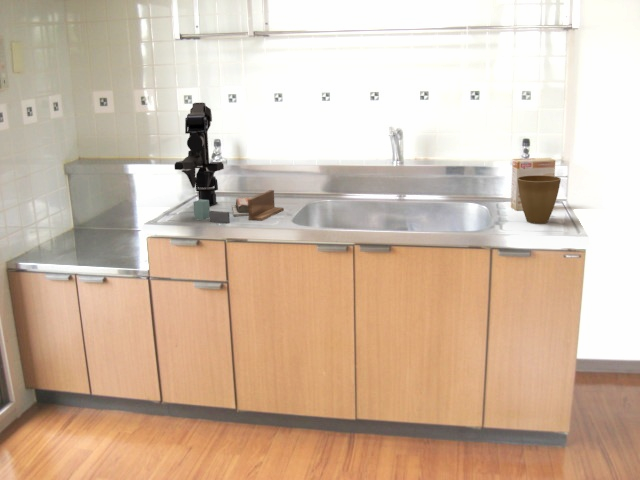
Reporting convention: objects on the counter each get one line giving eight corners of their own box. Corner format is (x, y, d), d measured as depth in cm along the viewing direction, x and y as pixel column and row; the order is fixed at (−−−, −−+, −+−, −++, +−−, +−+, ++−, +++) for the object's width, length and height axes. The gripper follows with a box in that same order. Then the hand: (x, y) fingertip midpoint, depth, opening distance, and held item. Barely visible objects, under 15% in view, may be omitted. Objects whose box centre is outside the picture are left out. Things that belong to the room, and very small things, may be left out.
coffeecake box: (547, 205, 284) (549, 157, 279) (553, 209, 277) (556, 159, 272) (510, 207, 284) (512, 158, 279) (515, 210, 277) (517, 160, 272)
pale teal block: (194, 219, 276) (193, 201, 274) (201, 216, 280) (200, 199, 278) (203, 220, 274) (202, 202, 272) (210, 217, 279) (209, 199, 277)
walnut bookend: (248, 219, 273) (247, 199, 271) (271, 209, 291) (270, 190, 289) (261, 220, 271) (261, 200, 269) (283, 210, 289) (282, 190, 287)
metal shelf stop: (209, 221, 271) (209, 211, 270) (211, 221, 272) (210, 211, 271) (228, 223, 268) (227, 212, 267) (229, 222, 269) (229, 212, 268)
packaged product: (231, 197, 295) (255, 196, 297) (231, 208, 296) (255, 207, 298) (233, 205, 278) (258, 204, 279) (233, 217, 279) (259, 216, 281)
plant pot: (559, 218, 262) (562, 175, 258) (556, 227, 249) (559, 182, 245) (518, 215, 268) (520, 173, 264) (512, 224, 255) (514, 180, 251)
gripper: (164, 149, 266) (168, 190, 270) (208, 150, 260) (211, 192, 264) (181, 146, 276) (183, 185, 280) (223, 147, 270) (225, 187, 274)
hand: (200, 188), depth 274 cm, fingers open, 6 cm apart
